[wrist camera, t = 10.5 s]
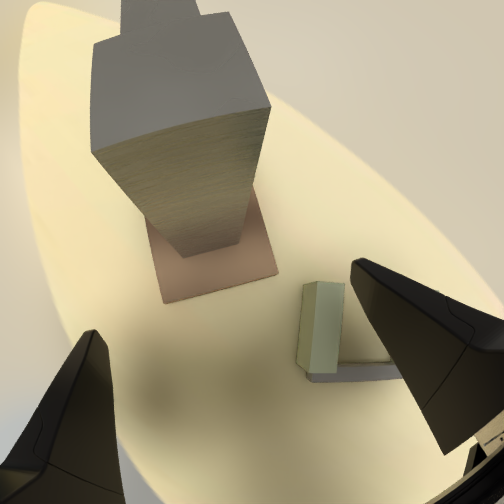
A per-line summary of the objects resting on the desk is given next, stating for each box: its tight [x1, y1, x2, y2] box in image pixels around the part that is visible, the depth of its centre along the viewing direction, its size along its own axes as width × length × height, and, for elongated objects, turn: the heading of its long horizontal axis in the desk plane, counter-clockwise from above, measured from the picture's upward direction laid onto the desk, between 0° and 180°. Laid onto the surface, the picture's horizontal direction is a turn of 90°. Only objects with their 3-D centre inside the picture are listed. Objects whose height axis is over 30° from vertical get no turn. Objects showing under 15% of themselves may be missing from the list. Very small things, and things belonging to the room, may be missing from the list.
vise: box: [296, 281, 439, 382], centre depth 17 cm, size 6×9×3 cm
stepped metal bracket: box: [90, 0, 271, 258], centre depth 12 cm, size 6×3×13 cm, turn 16°
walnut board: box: [145, 185, 278, 304], centre depth 18 cm, size 8×7×1 cm
